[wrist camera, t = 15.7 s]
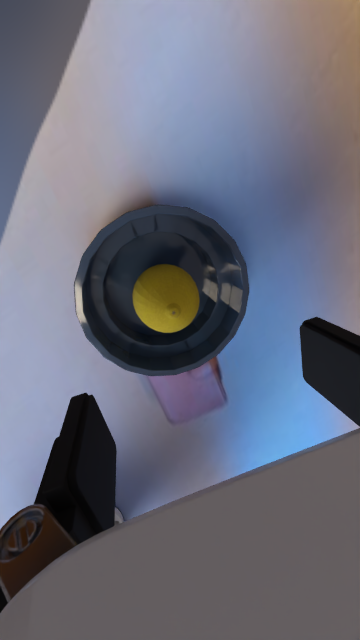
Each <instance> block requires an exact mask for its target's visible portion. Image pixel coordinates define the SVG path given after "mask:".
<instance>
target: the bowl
mask: <svg viewBox="0 0 360 640" xmlns="http://www.w3.org/2000/svg"><path fill="white" fill-rule="evenodd" d="M159 264H170V265H175V266H177V267H179V268H181V269H183V270H184V271H186V272H187V273H188V274H189V275H190V276H191V277H192V279H193V280H194V282H195V283H196V286H197V289H198V292H199V308H198V311H197V314H196V316H195V318H194V319H193V320H192V322H191V323H190V324H189V325H188V326H186V327H185V328H183V329H181V330H179V331H176V332H172V333H163V332H159V331H156V330H154V329H152V328H150V327H148V326H147V325H146V324H145V323H143V322H142V321H141V319H140V318H139V316H138V315H137V313H136V311H135V308H134V305H133V297H132V294H133V289H134V285H135V283H136V281H137V279H138V277H139V276H140V275H141V274H142V273H143V272H144V271H145V270H147V269H148V268H150V267H152V266H155V265H159ZM74 293H75V308H76V315H77V317H78V319H79V322H80V324H81V326H82V329H83V331H84V333H85V336H86V338H87V339H88V340H89V341H90V342H91V344H92V345H93V346H94V347H95V348H96V349H97V350H98V351H99V352H100V354H101V355H102V356H103V357H105V358H106V359H107V360H109V361H111V362H113V363H114V364H116V365H118V366H119V367H121V368H123V369H125V370H127V371H131V372H135V373H139V374H143V375H148V376H166V375H177V374H180V373H183V372H186V371H189V370H192V369H195V368H198V367H200V366H201V365H203V364H204V363H206V362H207V361H209V360H210V359H212V358H213V357H215V356H217V355H218V354H219V353H220V352H221V351H222V350H223V348H224V347H225V346H226V345H227V344H228V343H229V342H230V341H231V339H232V338H233V337H234V336H235V334H236V332H237V330H238V328H239V326H240V324H241V322H242V320H243V318H244V316H245V312H246V306H247V301H248V295H249V283H248V275H247V268H246V263H245V261H244V259H243V257H242V255H241V253H240V251H239V248H238V246H237V244H236V242H235V241H234V239H233V238H232V237H231V236H230V235H229V234H228V233H227V232H226V231H225V230H224V229H223V228H222V227H221V226H220V225H219V224H218V223H217V222H216V221H214V220H213V219H211V218H209V217H207V216H205V215H203V214H201V213H199V212H197V211H195V210H193V209H190V208H188V207H179V206H169V205H153V206H149V207H145V208H141V209H138V210H134V211H130V212H127V213H125V214H124V215H122V216H121V217H119V218H118V219H116V220H115V221H113V222H112V223H110V224H109V225H107V226H106V227H104V228H103V229H101V231H100V232H99V233H98V234H97V236H96V237H95V238H94V240H93V241H92V243H91V244H90V245H89V247H88V248H87V249H86V251H85V252H84V254H83V256H82V258H81V261H80V265H79V268H78V272H77V275H76V279H75V282H74Z"/></svg>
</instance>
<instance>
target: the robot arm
mask: <svg viewBox="0 0 360 640" xmlns="http://www.w3.org/2000/svg"><path fill="white" fill-rule="evenodd" d="M300 339H301V354H302V369H303V377H304V379H305V381H306V382H307V383H308V384H309V385H310V386H312V387H313V388H314V389H315V390H316V391H318V392H319V393H320V394H321V395H322V396H324V397H325V398H326V399H327V400H328V401H330V402H331V403H332V404H333V405H334V406H336V407H337V408H338V409H339V410H340V411H342V412H343V413H344V414H345V415H346V416H348V417H349V418H350V419H351V420H352V421H354V422H355V423H356V424H357V425H358V426H360V336H359V335H356V334H354V333H352V332H350V331H348V330H345V329H343V328H341V327H339V326H336V325H334V324H332V323H330V322H327V321H325V320H323V319H321V318H318V317H315V318H312V319H309V320H305V321H304V322H303V323H302V325H301V326H300ZM116 453H117V451H116V444H115V441H114V439H113V437H112V435H111V433H110V431H109V428H108V426H107V424H106V422H105V420H104V418H103V415H102V413H101V411H100V409H99V407H98V405H97V402H96V400H95V398H94V396H93V395H88V394H87V393H84V394H80V395H77V396H74V397H72V398H71V400H70V403H69V406H68V410H67V413H66V416H65V419H64V423H63V426H62V429H61V432H60V436H59V437H57V438H56V439H55V441H54V444H53V447H52V450H51V453H50V456H49V459H48V462H47V465H46V469H45V472H44V475H43V478H42V481H41V484H40V487H39V490H38V493H37V496H36V500H35V503H34V505H30V506H27V507H26V508H24V509H22V510H20V511H19V512H17V513H16V514H15V515H14V516H12V517H11V518H10V519H9V520H8V521H7V522H6V524H5V525H4V526H3V527H2V528H1V530H0V640H360V428H359V429H356V430H354V431H351V432H348V433H346V434H343V435H341V436H338V437H335V438H333V439H330V440H327V441H325V442H322V443H320V444H317V445H315V446H312V447H309V448H307V449H304V450H302V451H299V452H297V453H294V454H291V455H289V456H286V457H284V458H281V459H279V460H276V461H274V462H271V463H268V464H266V465H263V466H261V467H258V468H256V469H253V470H251V471H248V472H245V473H243V474H240V475H238V476H235V477H233V478H230V479H228V480H225V481H223V482H220V483H218V484H215V485H213V486H210V487H208V488H205V489H203V490H200V491H198V492H195V493H193V494H190V495H188V496H185V497H183V498H180V499H178V500H175V501H173V502H170V503H168V504H165V505H163V506H160V507H158V508H156V509H153V510H151V511H148V512H146V513H144V514H141V515H139V516H136V517H134V518H132V519H129V520H127V521H125V522H124V521H123V517H122V514H121V512H120V511H119V510H118V509H117V508H116V507H115V489H116Z"/></svg>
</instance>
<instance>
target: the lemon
mask: <svg viewBox="0 0 360 640" xmlns="http://www.w3.org/2000/svg"><path fill="white" fill-rule="evenodd" d="M132 297H133V305H134V308H135V311H136V313H137V315H138V316H139V318H140V319H141V321H142V322H143V323H145V324H146V325H147V326H148V327H150V328H152V329H154V330H156V331H159V332H163V333H172V332H176V331H179V330H181V329H183V328H185V327H186V326H188V325H189V324H190V323H191V322H192V320H193V319H194V318H195V316H196V314H197V311H198V308H199V292H198V289H197V286H196V283H195V282H194V280H193V279H192V277H191V276H190V275H189V274H188V273H187V272H186V271H184V270H183V269H181V268H179V267H177V266H175V265H170V264H159V265H155V266H152V267H150V268H148V269H147V270H145V271H144V272H143V273H142V274H141V275H140V276H139V277H138V279H137V281H136V283H135V285H134V289H133V294H132Z"/></svg>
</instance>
